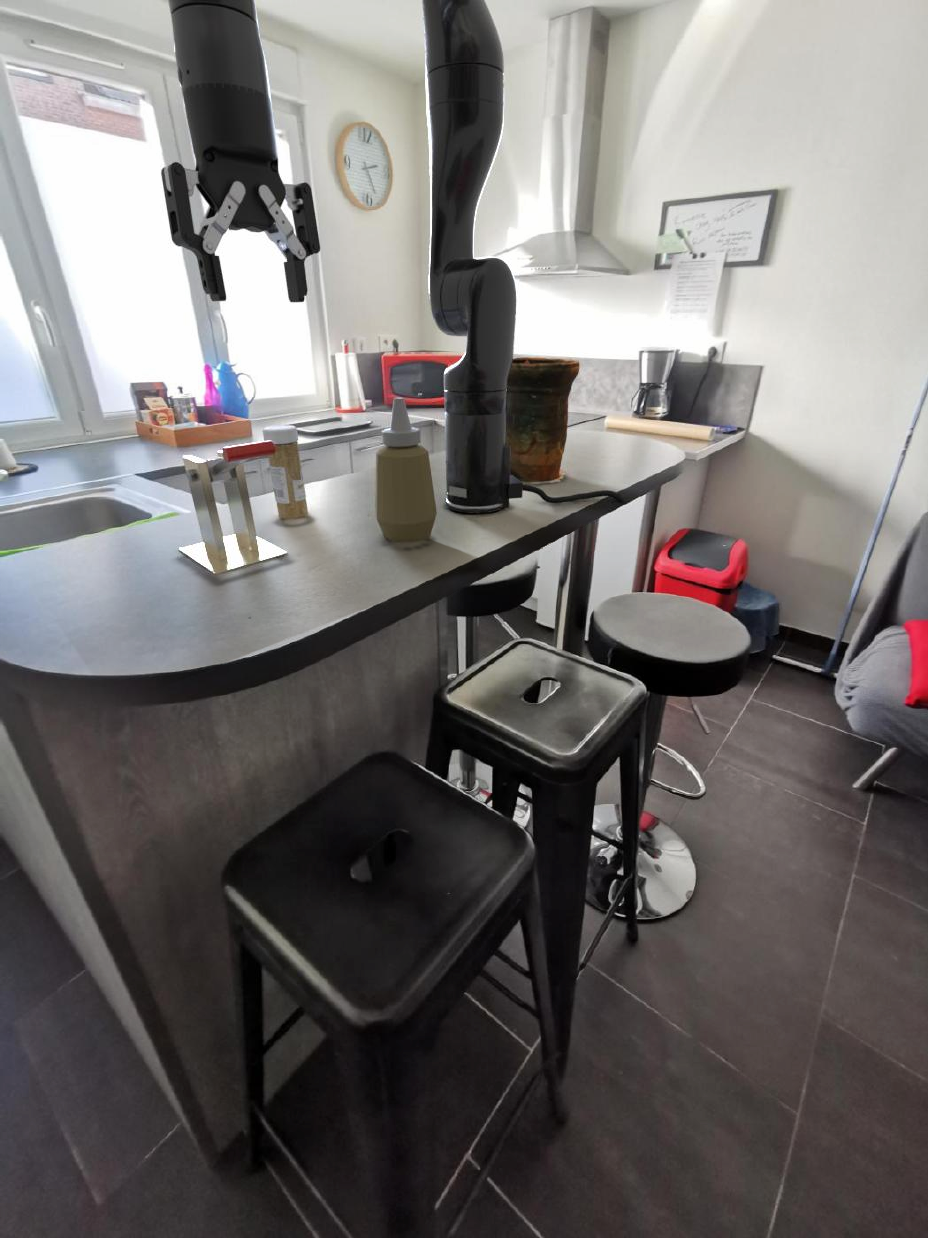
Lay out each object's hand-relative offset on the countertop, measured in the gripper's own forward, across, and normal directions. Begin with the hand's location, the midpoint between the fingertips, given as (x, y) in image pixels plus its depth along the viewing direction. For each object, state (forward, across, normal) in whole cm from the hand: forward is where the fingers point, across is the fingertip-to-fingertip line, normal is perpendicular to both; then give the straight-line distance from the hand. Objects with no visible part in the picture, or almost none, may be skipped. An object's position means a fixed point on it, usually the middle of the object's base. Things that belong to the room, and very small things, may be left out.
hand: (260, 301), depth 58 cm
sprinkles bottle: (+28, +7, +14) cm, 32 cm away
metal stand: (+28, -6, +5) cm, 29 cm away
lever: (+16, -6, 0) cm, 18 cm away
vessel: (+28, +51, +5) cm, 59 cm away
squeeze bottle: (+28, +13, -5) cm, 32 cm away
